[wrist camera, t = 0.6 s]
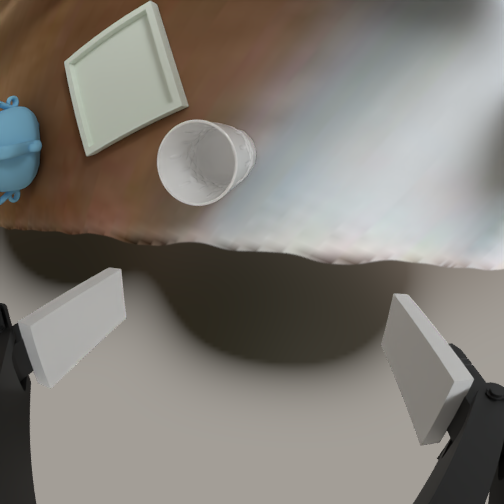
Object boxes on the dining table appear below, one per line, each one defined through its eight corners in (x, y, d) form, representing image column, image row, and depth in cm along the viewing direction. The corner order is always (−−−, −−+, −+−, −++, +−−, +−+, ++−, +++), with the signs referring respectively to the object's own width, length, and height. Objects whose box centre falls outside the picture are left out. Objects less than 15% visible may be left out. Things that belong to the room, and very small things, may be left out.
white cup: (239, 199, 36) (209, 222, 27) (187, 164, 36) (144, 177, 27) (274, 145, 33) (254, 149, 24) (219, 110, 33) (181, 104, 24)
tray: (157, 4, 28) (150, 0, 27) (188, 106, 33) (182, 105, 32) (71, 62, 34) (64, 62, 32) (94, 154, 39) (86, 156, 37)
